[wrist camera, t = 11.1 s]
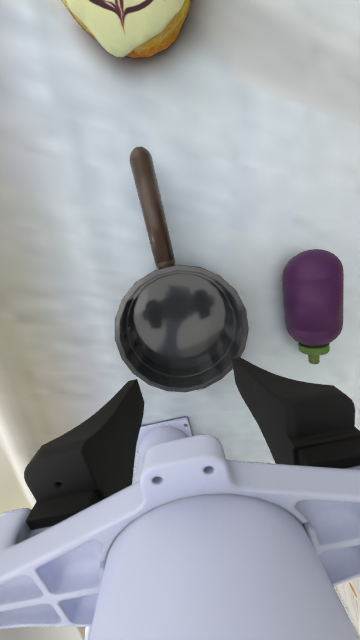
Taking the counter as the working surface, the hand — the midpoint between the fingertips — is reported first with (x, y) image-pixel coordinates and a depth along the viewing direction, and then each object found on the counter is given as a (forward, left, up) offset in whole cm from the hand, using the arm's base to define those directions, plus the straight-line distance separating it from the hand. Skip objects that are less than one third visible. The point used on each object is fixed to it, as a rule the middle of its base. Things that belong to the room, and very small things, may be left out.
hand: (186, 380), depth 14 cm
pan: (+2, 0, -9) cm, 9 cm away
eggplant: (+1, -13, -9) cm, 16 cm away
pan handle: (+13, 0, -7) cm, 14 cm away
